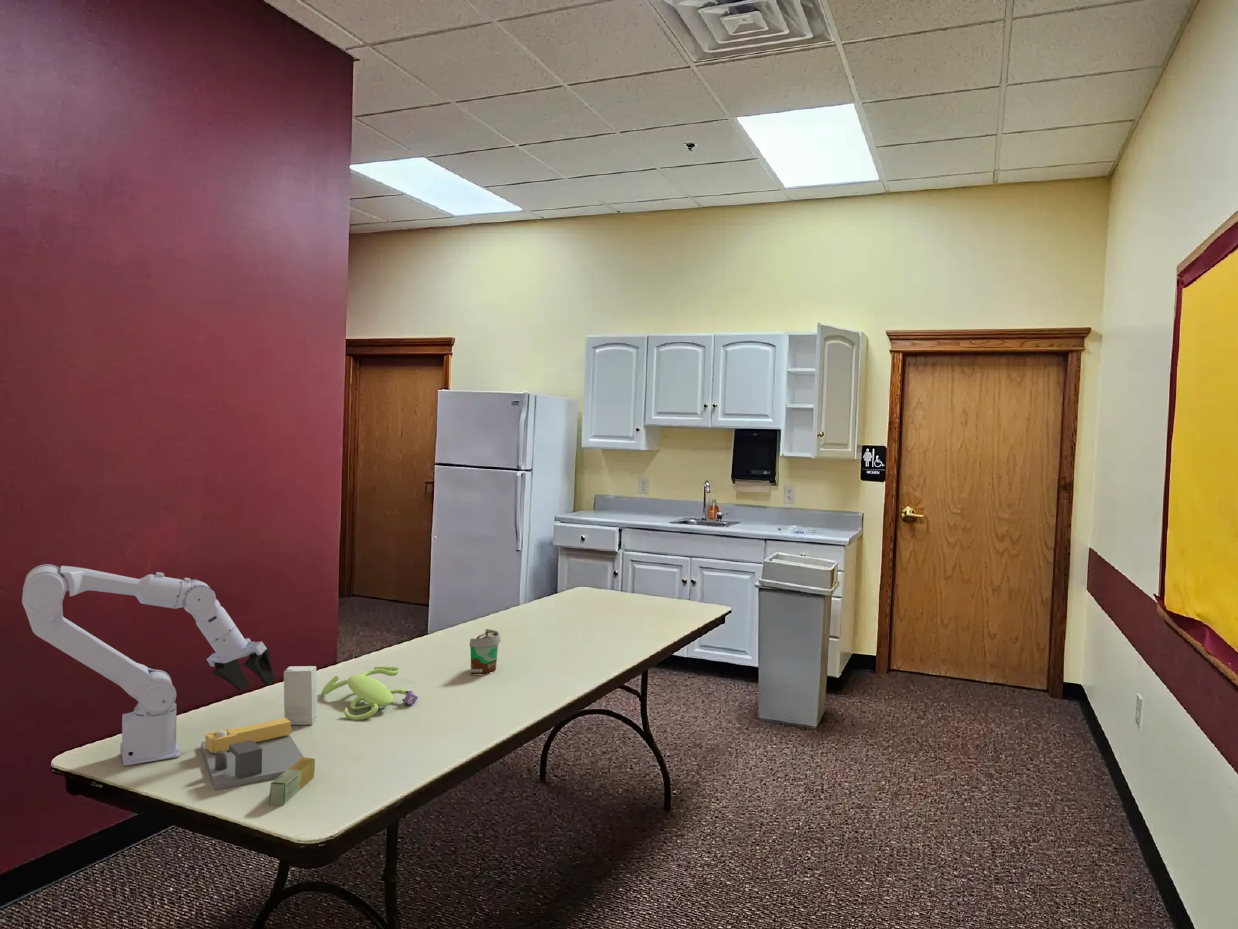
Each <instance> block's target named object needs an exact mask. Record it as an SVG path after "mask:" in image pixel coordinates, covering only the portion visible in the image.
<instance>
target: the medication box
mask: <svg viewBox="0 0 1238 929" xmlns="http://www.w3.org/2000/svg"><path fill="white" fill-rule="evenodd" d="M315 766H316V759H315V758H312V757H304V756H303V757H302V758H301V759H300V760H299V761H297V762H296V763H295V764H294V765H292V766H291V767H290V768H289V769H288V770H286V771H285V772H284V773H283V774H282V775H280V776H279V777H278V778H275V779H273V781H272V782H270V789H269V804H268V805H269V806H276V807H282V806H283V807H284V805H286V804H287V803H288V802H289V801H290V800H291V799H292V798H293V797H295V795H297V793H299V792H300V791H301V790H302V789H303V788H304V787H305V786H307V785H308V783H310V782H311V781H312V780H314V777H315V772H316V771H315V770H316V769H315Z"/></svg>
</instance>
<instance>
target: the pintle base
mask: <svg viewBox="0 0 1238 929" xmlns="http://www.w3.org/2000/svg"><path fill="white" fill-rule="evenodd" d="M217 731H218V732H217V733H216V738H218V737H223V736H227V731H219V730H217ZM200 748H201V751H202V754H203V757H204V760H205V763H206V766H207V769H208V773H209V775H210V779H211V781H212V784H213V787H214V791H216V790H218V791H219V790H222V789H228V788H234V787H237V786H238V787H239V786H242V785H244V786H245V785H249V784H254V783H258V782H264V781H269V780H276V779H277V778H278V777H279V776H280V775H282V774H283V773H284V772H285V771H286V770H288V769H289V768H290V767H291V766H292V765H294V764H295V763H296V762H297V761H299V760H300V759H301V758H302V757H304V756H303V753H302V752H301V751H300V749H299V748H298V746H297V745H296V743H295V741H294V740H293V738H292V736H291V734H290V735H285V736H281V737H276V738H272V739H268V740H263V741H259V742H254V741H252V740H249V741H245V742H240V743H236V744H231V745H229V750H227V751H225V750H221V751H217V752H216V753H211V752H210V751H209V750H208V749H207V748H206V747H205V740H203V741H201V742H200Z"/></svg>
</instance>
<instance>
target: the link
mask: <svg viewBox="0 0 1238 929" xmlns="http://www.w3.org/2000/svg"><path fill="white" fill-rule="evenodd" d="M218 731H227V736H223V737H218V738H216V733H217V732H218ZM291 734H292V725H291V721H289V720H288V719H286V718H285V717H283V718H278V719H274V720H269V721H265V722H260V723H255V724H250V725H246V726H242V727H235V728H224V729H219V730H215V731H210V732H207V733H205V740H204V741H205V747H206V748H207V749H208V750H209V751H210V752H211V753H216V752H217V751H221V750H225V751H227V750H229V745H231V744H236V743H240V742H245V741H249V740H252V741H254V742H259V741H263V740H268V739H272V738H276V737H281V736H285V735H290V736H291Z"/></svg>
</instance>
